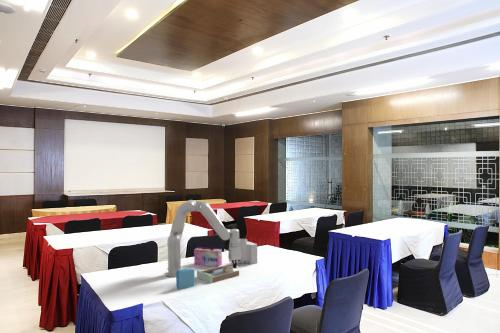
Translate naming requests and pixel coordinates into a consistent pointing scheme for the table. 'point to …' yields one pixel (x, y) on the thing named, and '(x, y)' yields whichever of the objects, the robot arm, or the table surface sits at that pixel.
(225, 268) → the maple block
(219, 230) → the robot arm
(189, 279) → the data package
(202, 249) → the gum box
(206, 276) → the box
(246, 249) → the control panel
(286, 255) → the table surface
